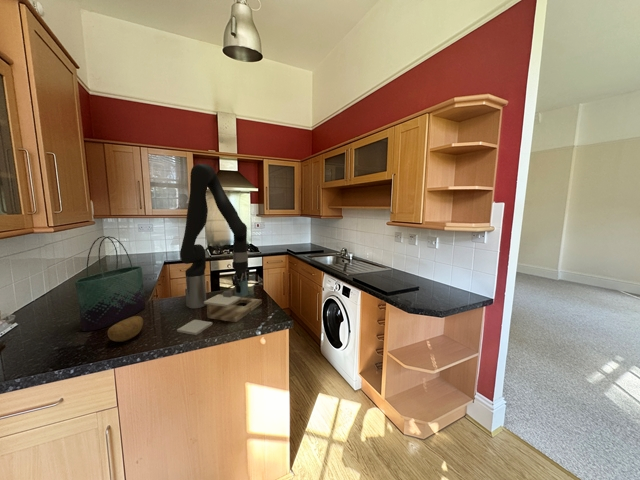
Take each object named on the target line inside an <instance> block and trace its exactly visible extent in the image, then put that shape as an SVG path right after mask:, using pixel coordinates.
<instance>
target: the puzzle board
mask: <svg viewBox="0 0 640 480" xmlns="http://www.w3.org/2000/svg"><path fill="white" fill-rule="evenodd" d="M227 291H232V292H233V296H235V286H233V287H231V288H230V289H228V290H227ZM220 295H223V292H222V293H220ZM236 297H237V296H236ZM240 303H241V304H246V305H244V306H243V305H238V304H240ZM262 303H263V299H258V298H252V297H251V298H250V297H245V296H244V297H241V299H240V300H238V301H237V302H235V303H233V304H232V305H230V306H228V307H225V306H217V305H210V304H206V311H207V312H206V315H207V318H208V319H213V320H218V321H219V320H220V321H226V322H232V323H237V322H238V321H240V320H241V319H243V318H244V317H245V316H247V315H248V314H249V313H251V312H252V311H254V310H255V309H256V308H258V307H259V306H260V305H261V304H262Z"/></svg>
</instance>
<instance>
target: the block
mask: <svg viewBox="0 0 640 480" xmlns="http://www.w3.org/2000/svg"><path fill="white" fill-rule="evenodd" d="M238 280H240V279H238ZM238 284H239V281H238ZM234 287H235V296H237V297H244V298H245V297H246V296H248V295H249V280H244V279H242V282H241V284H240V287H241V292H240V293H237V292H236V286H234Z"/></svg>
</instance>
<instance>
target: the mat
mask: <svg viewBox="0 0 640 480" xmlns="http://www.w3.org/2000/svg"><path fill="white" fill-rule="evenodd" d="M212 325H213V321H207V320H206V321H205V320H200V319H193V320H191V321H189V322H188V323H185V325H183V326H180V327H179V328H177V329H176V332H177V333H184V334H187V335H188V334H189V335H194V336H197V335H198V334H200V333H202V332H204V331H205V330H206V329H207V328H210V327H211V326H212Z"/></svg>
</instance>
